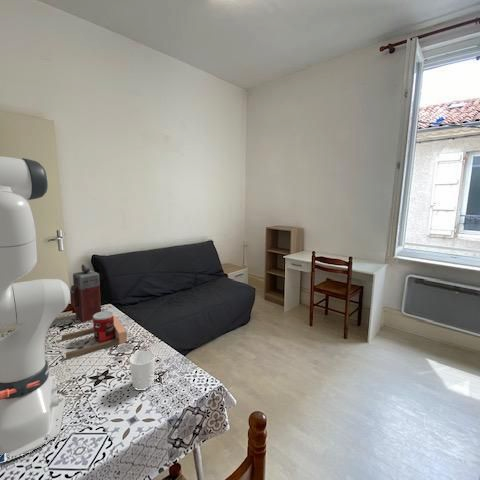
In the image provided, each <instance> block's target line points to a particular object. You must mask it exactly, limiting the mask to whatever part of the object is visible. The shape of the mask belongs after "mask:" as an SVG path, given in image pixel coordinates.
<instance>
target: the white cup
mask: <svg viewBox="0 0 480 480" xmlns="http://www.w3.org/2000/svg"><path fill="white" fill-rule="evenodd" d="M155 357H156V354H155V353H154V352H153V351H152V350H140V351H136V352H134V353H133V354H132V355H131V356H130V357H129V366H130V367H129V368H130V377H131V383H132V384H133V385H132V388H133V387H134V388H137V389H144V388H146V387H149V386H150V385H151V384H152V383H153V381H154V382H155V368H156V367H155V364H156V362H155V361H156V360H155V359H156V358H155ZM153 384H154V383H153Z"/></svg>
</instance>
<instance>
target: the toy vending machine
mask: <svg viewBox="0 0 480 480" xmlns="http://www.w3.org/2000/svg"><path fill="white" fill-rule="evenodd" d="M100 282H101V281H100V273H99V272H96V271H94V270H91V269H90V265H89V263H83V264H81V271H79V272H74V273H72V283H73V285H71V287H70V289H69V290H70V306H71V307H73V308H74V309H75V318H76V319H77V320H79V321H80V322H81V323H83V324H84V323H87V322H90V321H93V315H94V314H96V313H98V312H102V305H101V304H102V303H101V301H102V300H101V287H100V285H101V284H100Z"/></svg>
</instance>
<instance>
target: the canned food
mask: <svg viewBox="0 0 480 480" xmlns="http://www.w3.org/2000/svg"><path fill="white" fill-rule="evenodd" d="M113 316H114V312H113V311H109V310H108V311H107V310H103V311H101V312H98V313H96V314H94V315H93V320H92V323H93V324H92V326H93V327H92V328H94V333H93V339H94V341H95V342H97V343H103V342H106V341H110V340H113V339H114V337H115V336H114V317H113Z"/></svg>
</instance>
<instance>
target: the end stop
mask: <svg viewBox="0 0 480 480" xmlns="http://www.w3.org/2000/svg"><path fill="white" fill-rule="evenodd" d="M113 317H114V337H115V338H114V339H117V338H118V339H119V344H118V345H122V344H125V342H126V343H127V342H128V337H127V333H128V332H127V330H126V329H125V327H124V326H123V324H122V323H121V321H120V320H119V319H118V317H117V316H116V315H113Z"/></svg>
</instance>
